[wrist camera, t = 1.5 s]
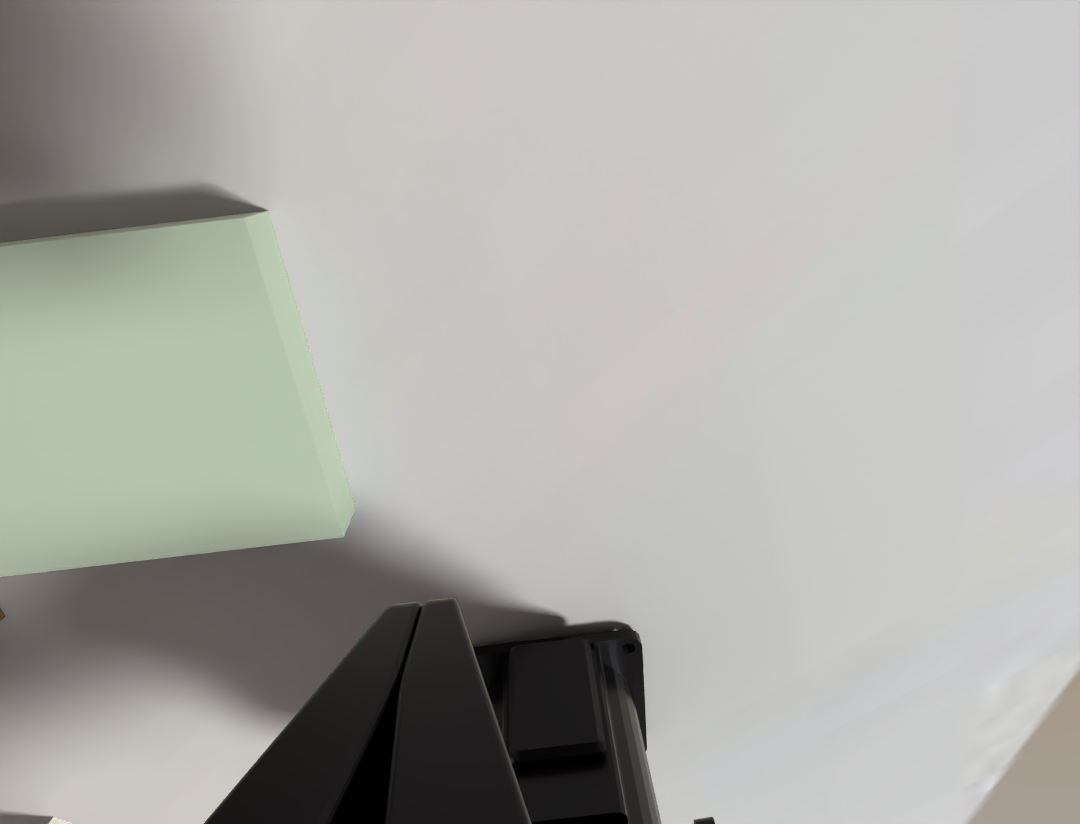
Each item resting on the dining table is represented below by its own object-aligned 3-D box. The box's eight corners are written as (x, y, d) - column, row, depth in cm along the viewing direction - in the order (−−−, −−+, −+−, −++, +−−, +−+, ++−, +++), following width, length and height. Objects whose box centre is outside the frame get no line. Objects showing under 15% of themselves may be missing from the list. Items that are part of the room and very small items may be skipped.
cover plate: (359, 499, 19) (343, 536, 17) (24, 538, 19) (-27, 580, 17) (276, 208, 15) (243, 217, 13) (-144, 258, 15) (-233, 274, 13)
